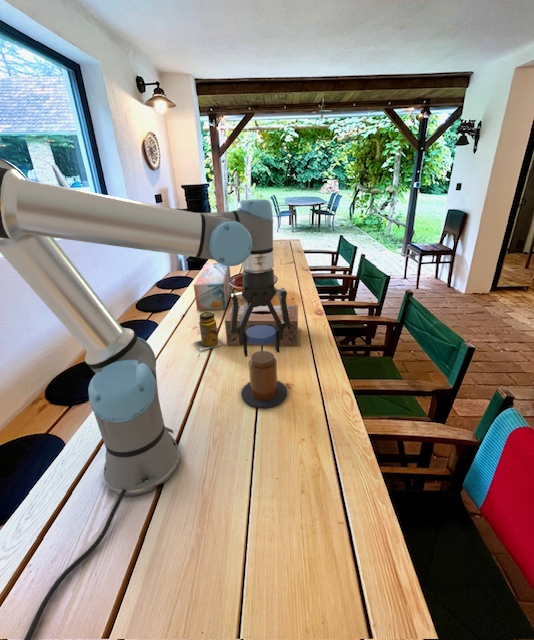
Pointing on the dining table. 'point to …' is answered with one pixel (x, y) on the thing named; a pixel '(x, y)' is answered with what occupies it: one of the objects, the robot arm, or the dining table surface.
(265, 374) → the jar
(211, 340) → the condiment
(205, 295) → the soda box
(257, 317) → the tissue box cover
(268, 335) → the lid
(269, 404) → the coaster
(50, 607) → the dining table surface
